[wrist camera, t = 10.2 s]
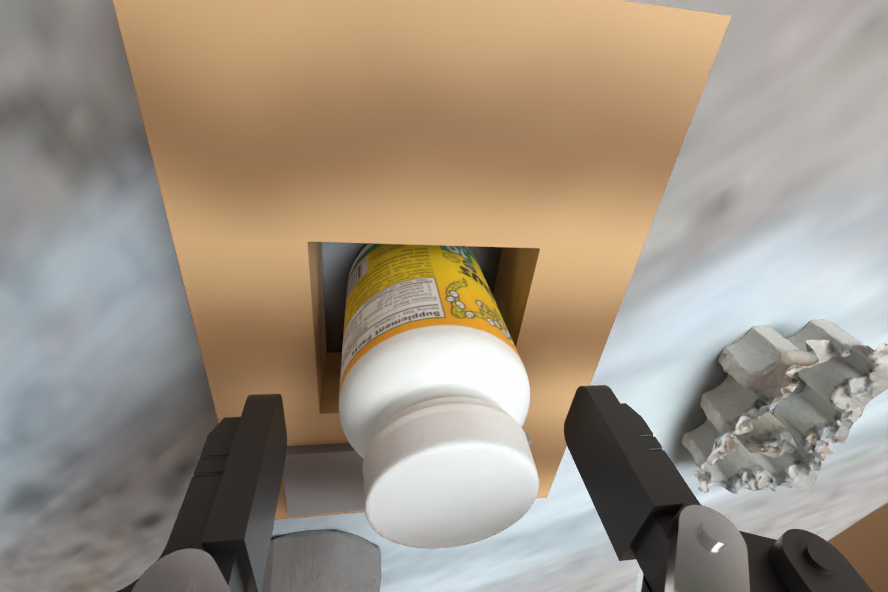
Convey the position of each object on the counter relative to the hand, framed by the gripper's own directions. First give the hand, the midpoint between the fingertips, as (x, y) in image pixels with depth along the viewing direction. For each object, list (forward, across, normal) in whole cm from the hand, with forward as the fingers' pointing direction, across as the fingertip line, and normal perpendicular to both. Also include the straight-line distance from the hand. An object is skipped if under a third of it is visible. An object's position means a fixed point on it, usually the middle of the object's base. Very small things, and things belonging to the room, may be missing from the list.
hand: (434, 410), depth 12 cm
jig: (+7, 0, 0) cm, 7 cm away
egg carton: (+7, -20, +7) cm, 23 cm away
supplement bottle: (+7, 0, 0) cm, 7 cm away
